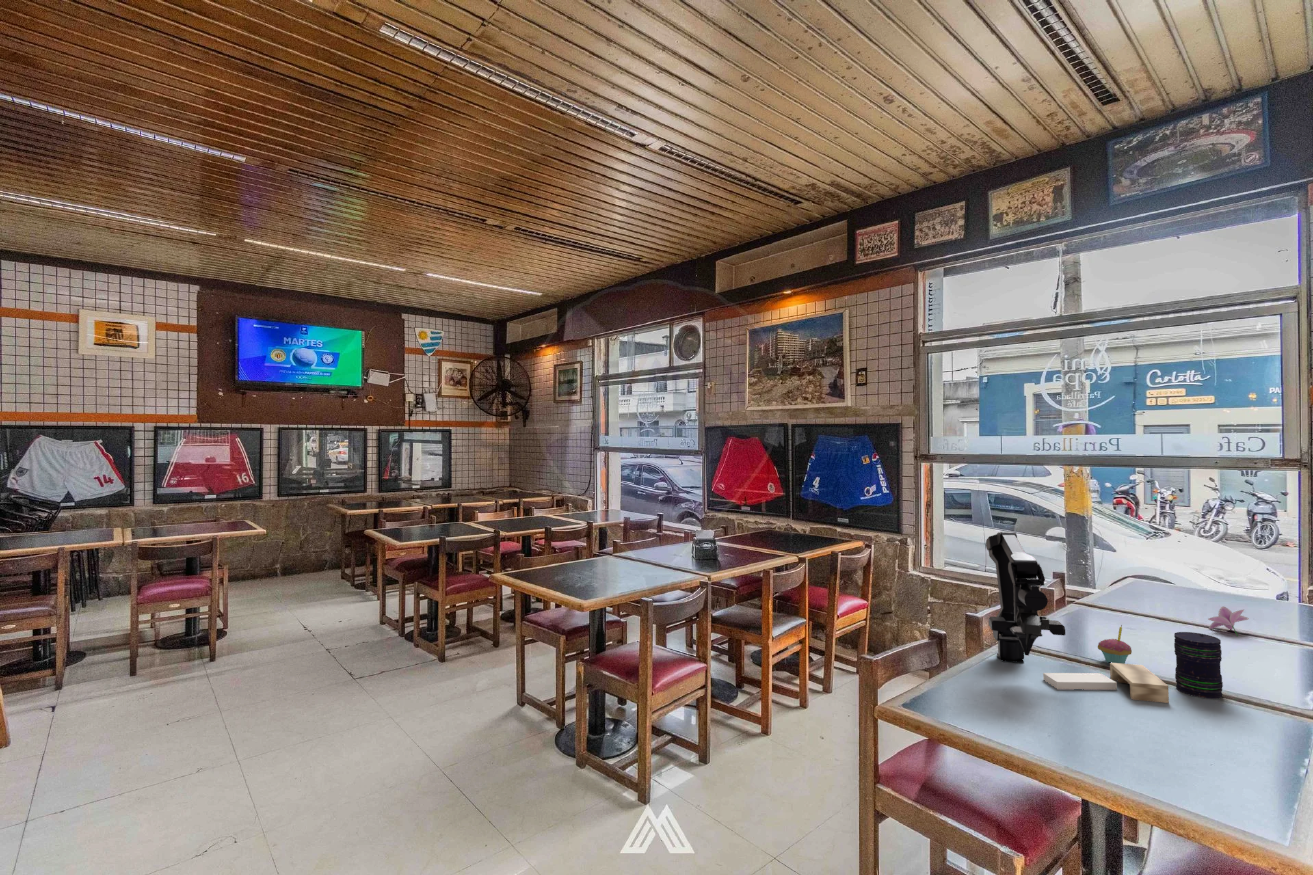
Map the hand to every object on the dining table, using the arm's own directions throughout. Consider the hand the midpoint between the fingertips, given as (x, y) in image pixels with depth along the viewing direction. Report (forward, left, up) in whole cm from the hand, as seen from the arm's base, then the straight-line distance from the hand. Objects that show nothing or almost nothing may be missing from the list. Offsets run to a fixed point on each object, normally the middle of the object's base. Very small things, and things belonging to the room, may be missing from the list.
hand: (1026, 654), depth 180 cm
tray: (+13, 0, -8) cm, 15 cm away
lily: (+78, +68, -8) cm, 104 cm away
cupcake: (+29, +23, -7) cm, 38 cm away
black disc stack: (+42, +3, -7) cm, 43 cm away
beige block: (+27, 0, -7) cm, 28 cm away
